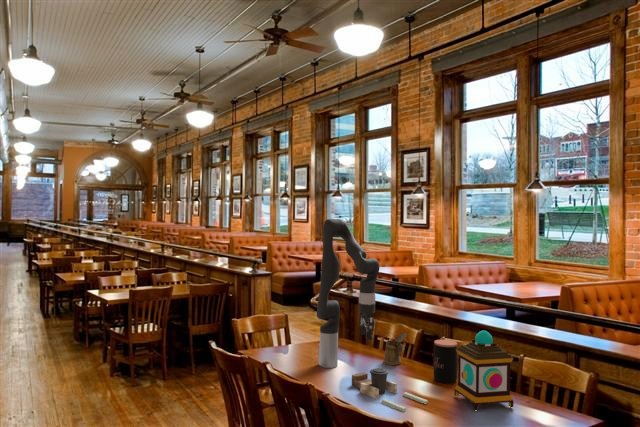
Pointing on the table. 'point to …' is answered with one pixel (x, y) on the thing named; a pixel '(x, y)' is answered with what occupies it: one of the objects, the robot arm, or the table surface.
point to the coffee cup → (379, 379)
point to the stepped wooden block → (375, 391)
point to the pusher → (360, 379)
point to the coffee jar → (445, 361)
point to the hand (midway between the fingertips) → (365, 337)
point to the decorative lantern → (484, 372)
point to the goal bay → (402, 406)
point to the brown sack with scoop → (394, 350)
